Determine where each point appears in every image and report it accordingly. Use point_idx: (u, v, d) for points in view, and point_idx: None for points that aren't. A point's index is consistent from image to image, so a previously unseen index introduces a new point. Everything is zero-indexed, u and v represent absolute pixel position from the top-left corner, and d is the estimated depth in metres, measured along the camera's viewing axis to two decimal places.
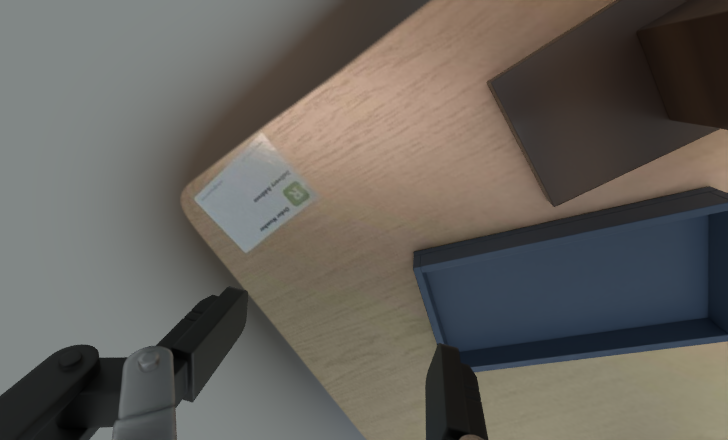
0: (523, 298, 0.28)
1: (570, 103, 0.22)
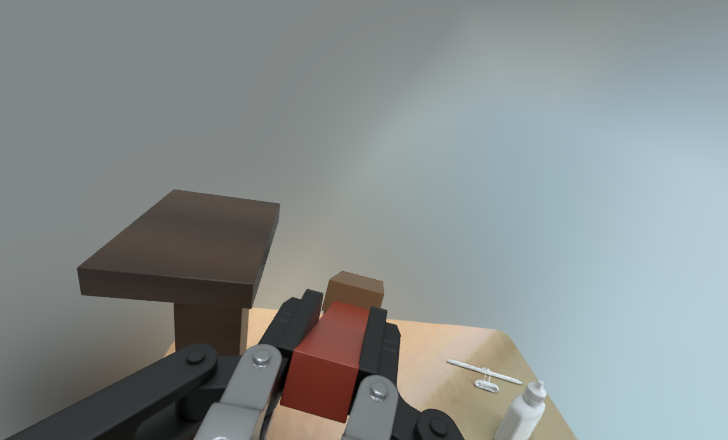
0: None
1: None
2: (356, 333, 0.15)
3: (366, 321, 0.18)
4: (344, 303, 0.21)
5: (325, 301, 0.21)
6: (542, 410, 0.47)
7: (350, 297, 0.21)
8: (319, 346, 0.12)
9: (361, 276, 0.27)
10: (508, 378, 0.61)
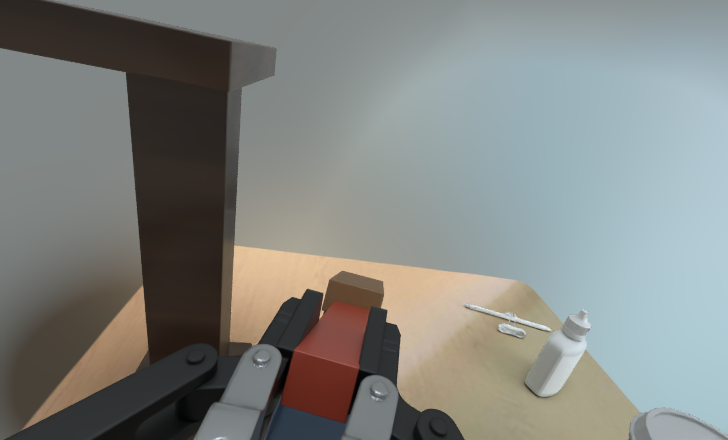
0: None
1: None
2: (356, 333, 0.15)
3: (366, 321, 0.18)
4: (344, 303, 0.21)
5: (325, 301, 0.21)
6: (585, 346, 0.40)
7: (350, 297, 0.21)
8: (320, 346, 0.12)
9: (361, 276, 0.27)
10: (535, 324, 0.54)
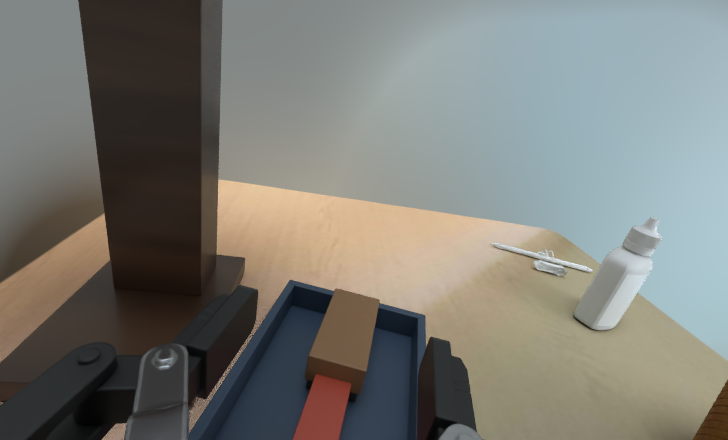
0: None
1: (106, 335, 0.21)
2: None
3: (339, 435, 0.17)
4: (325, 378, 0.20)
5: (306, 373, 0.20)
6: (652, 264, 0.33)
7: (331, 372, 0.20)
8: None
9: (355, 298, 0.25)
10: (574, 264, 0.47)
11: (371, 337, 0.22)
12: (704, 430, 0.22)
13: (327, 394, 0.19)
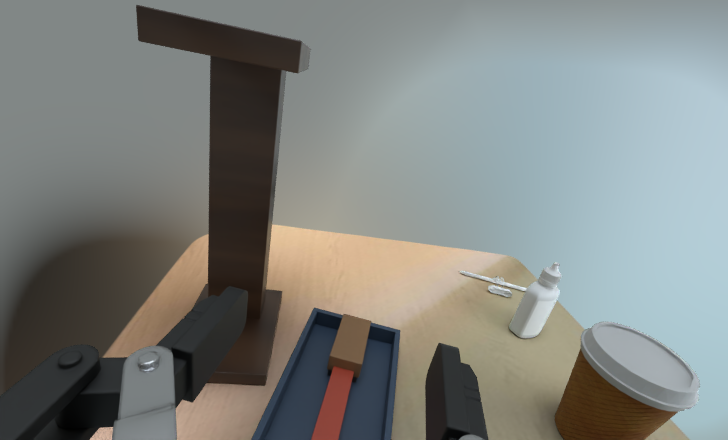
0: None
1: None
2: (337, 423, 0.30)
3: (347, 397, 0.33)
4: (339, 368, 0.35)
5: (328, 365, 0.36)
6: (557, 293, 0.48)
7: (342, 365, 0.35)
8: None
9: (356, 320, 0.41)
10: (520, 287, 0.62)
11: (365, 345, 0.38)
12: (561, 399, 0.38)
13: (340, 377, 0.35)
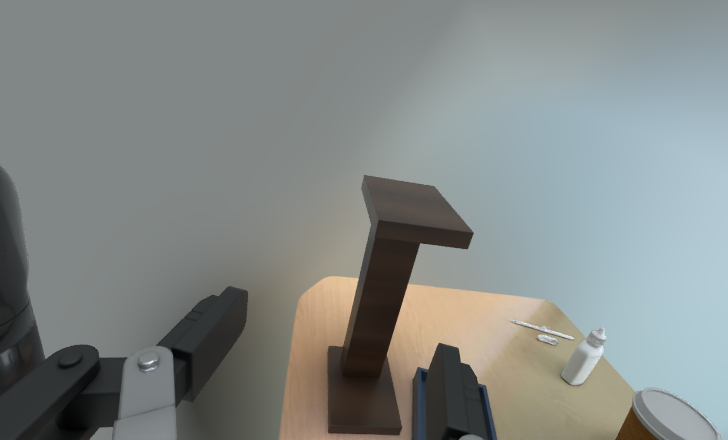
0: None
1: (356, 402, 0.49)
2: None
3: None
4: None
5: None
6: (602, 351, 0.61)
7: None
8: None
9: None
10: (563, 335, 0.75)
11: None
12: None
13: None
